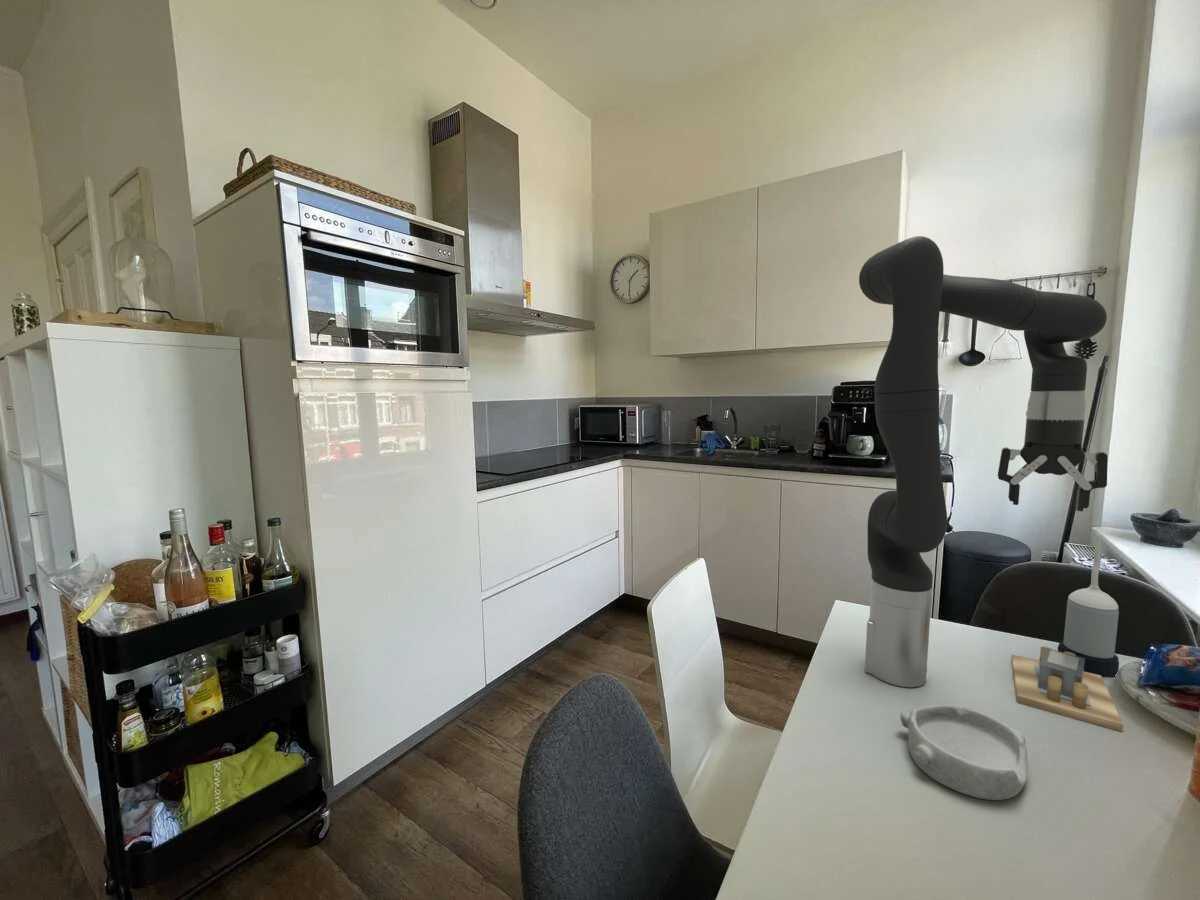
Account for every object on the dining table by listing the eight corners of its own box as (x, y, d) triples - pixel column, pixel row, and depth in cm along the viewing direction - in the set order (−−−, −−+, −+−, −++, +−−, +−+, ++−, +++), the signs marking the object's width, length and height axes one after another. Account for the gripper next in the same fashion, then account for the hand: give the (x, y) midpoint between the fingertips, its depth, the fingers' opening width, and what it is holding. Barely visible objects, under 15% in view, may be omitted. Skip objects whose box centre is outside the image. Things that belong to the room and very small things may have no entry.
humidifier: (1051, 663, 92) (1063, 533, 89) (1062, 649, 97) (1074, 526, 94) (1113, 683, 85) (1128, 544, 83) (1121, 667, 90) (1136, 535, 88)
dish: (1018, 752, 69) (1020, 719, 69) (1044, 826, 58) (1048, 787, 57) (898, 719, 77) (900, 689, 76) (900, 778, 65) (902, 743, 64)
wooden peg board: (1122, 731, 73) (1125, 702, 73) (1017, 702, 80) (1019, 675, 80) (1100, 682, 86) (1103, 656, 85) (1011, 660, 93) (1013, 636, 92)
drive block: (1037, 687, 82) (1040, 664, 82) (1043, 669, 87) (1045, 647, 87) (1079, 700, 78) (1081, 676, 78) (1082, 680, 84) (1085, 658, 83)
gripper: (1003, 417, 88) (996, 506, 89) (1117, 418, 79) (1107, 517, 81) (1001, 415, 93) (995, 499, 95) (1107, 417, 85) (1098, 508, 87)
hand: (1046, 507), depth 88 cm, fingers open, 8 cm apart
